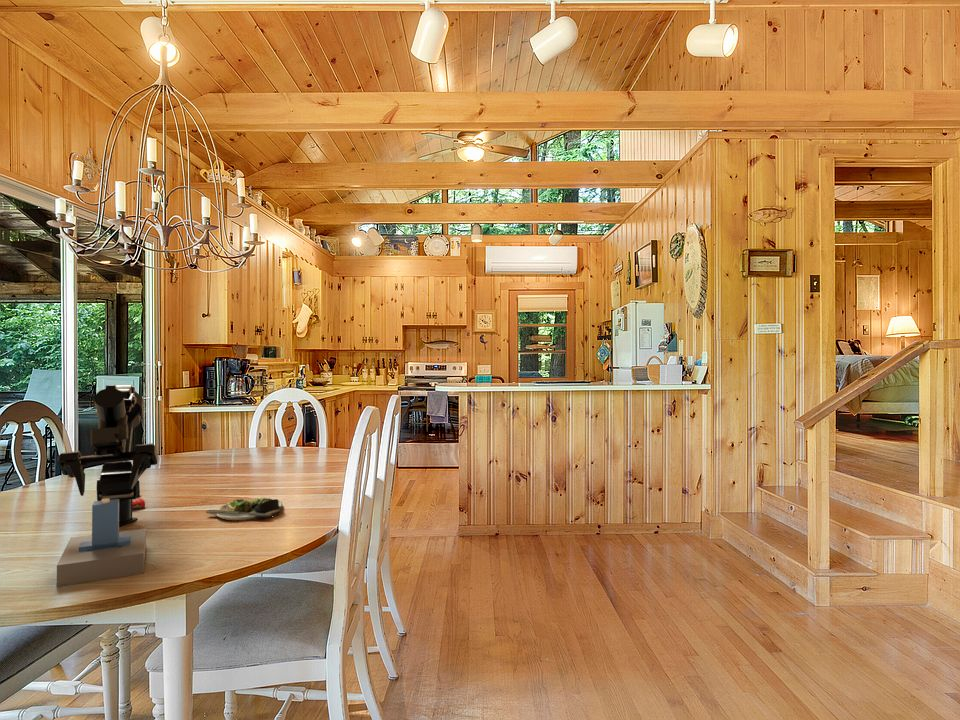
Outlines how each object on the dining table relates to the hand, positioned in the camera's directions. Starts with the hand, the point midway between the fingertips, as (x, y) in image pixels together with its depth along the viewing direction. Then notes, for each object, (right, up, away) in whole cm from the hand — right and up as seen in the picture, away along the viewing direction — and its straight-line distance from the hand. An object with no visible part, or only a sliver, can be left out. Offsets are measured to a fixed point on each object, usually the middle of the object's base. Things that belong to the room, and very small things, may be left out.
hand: (106, 491), depth 124 cm
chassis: (+5, -13, -7) cm, 16 cm away
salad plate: (+19, -14, +32) cm, 40 cm away
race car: (-18, -13, +37) cm, 43 cm away
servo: (+5, -13, -7) cm, 16 cm away
